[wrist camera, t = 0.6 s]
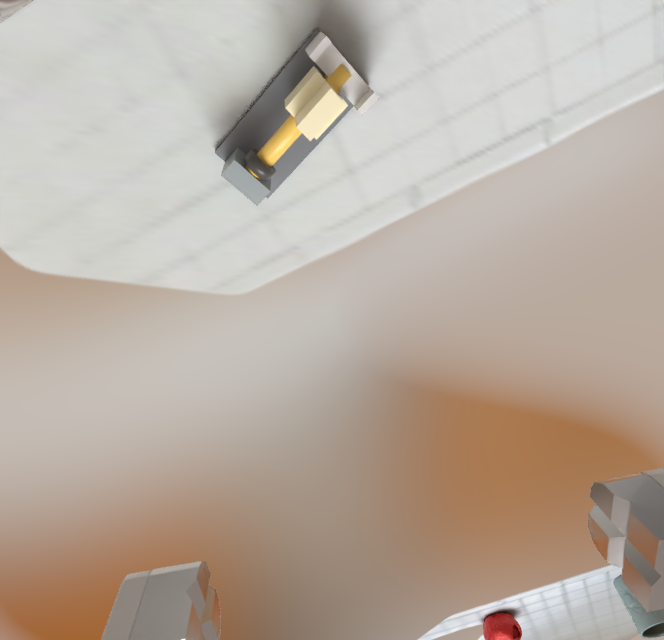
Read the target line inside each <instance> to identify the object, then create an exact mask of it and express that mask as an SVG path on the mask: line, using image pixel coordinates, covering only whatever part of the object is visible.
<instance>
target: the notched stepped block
mask: <svg viewBox="0 0 664 640" xmlns="http://www.w3.org/2000/svg"><path fill="white" fill-rule="evenodd" d="M323 77H324V76H323V75H322V74H321V73H320V72H319V70H318V69H317V68H316V67H315V66H313V67H312V68H311V70H310V71H309V72H308V73H307V74H306V75H305V77H304V78H303V79H302V80H301V81H300V82H299V84H298V85H297V86H296V87H295V88H294V89H293V91H292V92H291V93H290V94H289V95H288V97H287V98H286V99H285V100H284V101H285V108H286V109H287V110H288V112H289V113H290V114H291V115H292V116H293V117H294V118H295V123H296V127H297V128H298V129H299V130H300V131H301V132H302V133H303V134H304V135H305V136H306V137H307V138H308V139H309V140H310V141H311V140H312V139H313V138H315V139H316V140H317V139H318V138H319V137H320V136H321V135H322V133H323V132H324V131H325V130H326V129H327V128H328V127H329V126H330V125H331V124H332V123H333V122H334V120H335V119H336V118H337V117H338V116H339V115H340V114H341V113H342V112H343V111H344V110H345V109H346V107H347V106H348V104H347V103H346V101H345V100H344V98H343V97H342V96H341V95H340V94H339V93H337V92H336V91H335V90H334V89H333V88H332V86H331V85H330V84H329V83H328V82H327V81H326V80H325V79H324V78H323Z"/></svg>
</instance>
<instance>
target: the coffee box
mask: <svg viewBox="0 0 664 640" xmlns="http://www.w3.org/2000/svg"><path fill="white" fill-rule="evenodd" d="M32 1H33V0H0V23H1V22H2V21H4V20H5V19H7V18H8V17H10V16H11V15H12V14H14V13H15V12H17V11H18V10H20V9H21V8H23V7H24V6H26V5H27V4H29V3H30V2H32Z"/></svg>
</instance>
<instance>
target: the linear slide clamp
mask: <svg viewBox="0 0 664 640" xmlns="http://www.w3.org/2000/svg"><path fill="white" fill-rule="evenodd" d="M313 66H315V67H316V68H317V69H318V70H319V72H320V73H321V74H322V75H323V76H324V77H323V78H324V79H325V80H326V81H327V82H328V83H329V84H330V85H331V86H332V88H333V89H334V90H335V91H336V92H337V93H339V94H340V95H341V96H342V97H343V98H344V100H345V101H346V103H347V104H348V106H347V107H346V109H345V110H344V111H343V112H342V113H341V114H340V115H339V116H338V117H337V118H336V119H335V120H334V122H333V123H332V124H331V125H330V126H329V127H328V128H327V129H326V130H325V131H324V132H323V133H322V135H321V136H320V137H319V138H318V139H317V140H316V139H315V138H313V139H312V140H311V141H310V140H309V139H308V138H307V137H306V136H305V135H304V134H303V133H302V132H301V131H300V130H299V129H298V128H297V127H296V123H295V118H294V117H293V116H292V115H291V114H290V113H289V112H288V110H287V109H286V108H285V101H284V100H285V99H286V98H287V97H288V95H289V94H290V93H291V92H292V91H293V89H294V88H295V87H296V86H297V85H298V84H299V82H300V81H301V80H302V79H303V78H304V77H305V75H306V74H307V73H308V72H309V71H310V70H311V68H312V67H313ZM378 98H379V97H378V96H377V95H376V94H375V92H374V91H373V90H371V89H370V87H369V86H368V85H367V84H366V83H365V82H364V80H363V79H362V78H361V77H360V76H359V75H358V73H357V72H356V71H355V70H354V69H353V67H352V66H351V65H350V64H349V63H348V62H347V60H346V59H345V58H344V57H343V56H342V54H341V53H340V52H339V51H338V50H337V49H336V47H335V46H334V45H333V44H332V43H331V41H330V39H329V38H328V37H327V36H326V35H325V34H323V33H322V32H321V31H320V30H319V29H318V28H317V29H316V30H315V31H314V32H313V34H312V35H311V36H310V37H309V39H308V40H307V41H306V42H305V43H304V45H303V46H302V47H301V48H300V49H299V51H298V52H297V53H296V54H295V55H294V57H293V58H292V59H291V60H290V61H289V63H288V64H287V65H286V66H285V68H284V69H283V70H282V71H281V72H280V74H279V75H278V76H277V77H276V78H275V80H274V81H273V82H272V83H271V84H270V86H269V87H268V88H267V89H266V90H265V92H264V93H263V94H262V95H261V97H260V98H259V99H258V100H257V101H256V103H255V104H254V105H253V106H252V107H251V109H250V110H249V111H248V112H247V113H246V115H245V116H244V117H243V118H242V119H241V121H240V122H239V123H238V124H237V126H236V127H235V128H234V129H233V130H232V132H231V133H230V134H229V135H228V136H227V138H226V139H225V140H224V141H223V142H222V144H221V145H220V146H219V147H218V148H217V150H216V151H215V153H216V154H217V155H218V156H219V157H220V158H221V159H223V160H224V161H225V164H224V167H223V171H222V174H221V176H222V177H224V178H225V179H226V180H227V181H228V182H230V183H231V184H232V185H233V186H234V187H235V188H237V189H238V190H239V191H240V192H241V193H243V194H244V195H245V196H246V197H247V198H249V199H250V200H251V201H252V202H253V203H254V204H256V205H258V204H259V203H260V202H261V201H262V200H263V199H264V198H265V197H267V198H269V197H270V196H271V194H272V193H273V192H274V191H275V190H276V189H277V188H278V187H279V186H280V185H281V184H282V183H283V182H284V180H285V179H286V178H287V177H288V176H289V175H290V174H291V173H292V172H293V171H294V170H295V169H296V167H297V166H298V165H299V164H300V163H301V162H302V161H303V160H304V159H305V158H306V157H307V156H308V155H309V153H310V152H311V151H312V150H313V149H314V148H315V147H316V146H317V145H318V144H319V143H320V142H321V141H322V139H323V138H324V137H325V136H326V135H327V134H328V133H329V132H330V131H331V130H332V129H333V128H334V126H335V125H336V124H337V123H338V122H339V121H340V120H341V119H342V118H343V117H344V116H345V115H346V114H347V112H348V111H349V110H350V109H351V108H352V107H353V106H354V107H355V108H356V109H357V111H358V112H359V113H360V114H361V115H363V114H364V113H365V112H366V111H367V110H368V109H369V108H370V107H371V106H372V104H373V103H374V102H375V101H376V100H377V99H378Z"/></svg>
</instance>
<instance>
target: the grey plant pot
mask: <svg viewBox="0 0 664 640" xmlns="http://www.w3.org/2000/svg"><path fill="white" fill-rule="evenodd" d="M614 586H615V588H616V590H617V591H618V593H619V595H620V597H621V599H622V601H623V603H624V605H625V606H626V609H627V610H628V612H629V614H630V616H632V619H633V621H634V623H635V625H636V627H637V629H638V631H639V633H640V635H641V636H642V637H643V638H657V637H661V636H664V609H662V610H656V611H651V612H647V611H646V610H645V608H644V607H643V606H642V605H641V603H640V602H639V601H638V600H637V598H636V597H635V596H634V595H633V593H632V592H631V591H630V590H629V589H628V587H627V586H626V585H625V584H624V582H623V581H622V575H620V576H618V577H617V578H616V579H615V580H614Z"/></svg>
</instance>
